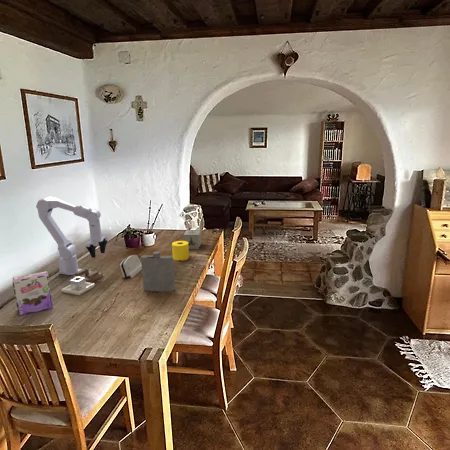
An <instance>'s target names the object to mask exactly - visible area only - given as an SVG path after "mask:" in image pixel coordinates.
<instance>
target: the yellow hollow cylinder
mask: <svg viewBox="0 0 450 450" xmlns="http://www.w3.org/2000/svg"><path fill="white" fill-rule="evenodd" d="M171 248H172V249H171V250H172V251H171V252H172V256H173V261H179V260H181V261H186V260H188V259H189V258H190V252H189V250H190V249H189V246H188V242H187V241H184V240H177V241H173V242H172V243H171ZM179 262H180V261H179Z"/></svg>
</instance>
